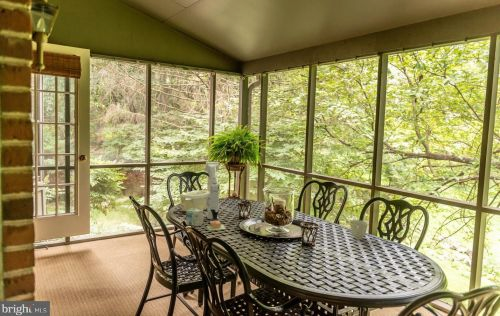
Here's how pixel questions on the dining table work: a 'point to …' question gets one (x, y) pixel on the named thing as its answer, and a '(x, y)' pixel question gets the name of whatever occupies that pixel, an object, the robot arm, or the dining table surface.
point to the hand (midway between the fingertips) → (214, 219)
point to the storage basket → (194, 200)
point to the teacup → (358, 228)
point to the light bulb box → (194, 217)
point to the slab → (215, 224)
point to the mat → (215, 228)
